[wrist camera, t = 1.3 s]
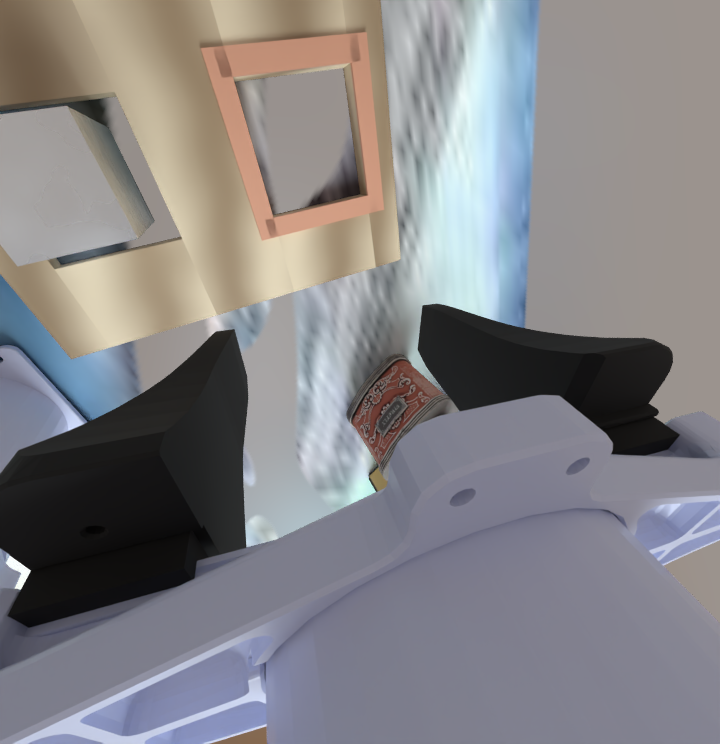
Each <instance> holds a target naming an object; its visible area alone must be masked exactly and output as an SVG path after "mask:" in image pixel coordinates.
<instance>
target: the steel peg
mask: <svg viewBox="0 0 720 744" xmlns="http://www.w3.org/2000/svg"><path fill="white" fill-rule="evenodd" d="M153 222H154V219H153V217H152V215H151V213H150V211H149V209H148V207H147V205H146V203H145V201H144V199H143V197H142V194H141V193H140V190H139V188H138V186H137V184H136V182H135V180H134V179H133V176H132V174H131V172H130V170H129V168H128V166H127V164H126V162H125V160H124V158H123V156H122V154H121V152H120V150H119V148H118V146H117V144H116V142H115V140H114V138H113V136H112V134H111V132H110V130H109V128H108V127H106V126H104V125H102V124H100V123H98V122H97V121H95V120H93V119H91V118H89V117H87V116H85V115H83V114H81V113H79V112H77V111H76V110H74V109H72V108H70V107H68V106H61V107H54V108H46V109H38V110H30V111H22V112H14V113H7V114H0V245H1V246H2V248H3V249H4V250H5V251H6V253H7V254H8V255H9V256H10V258H11V259H12V260H13V261H14V263H15V264H16V265H17V267H18V266H22V265H26V264H31V263H35V262H39V261H44V260H48V259H52V258H57V257H61V256H66V255H70V254H74V253H79V252H83V251H87V250H92V249H96V248H100V247H105V246H109V245H113V244H118V243H122V242H126V241H131V240H135V239H138V238H139V237H140V236H141V235H142V234H143V233H144V232H145V231H146V230H147V229H148V228H149V227H150V225H151V224H152V223H153Z"/></svg>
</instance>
